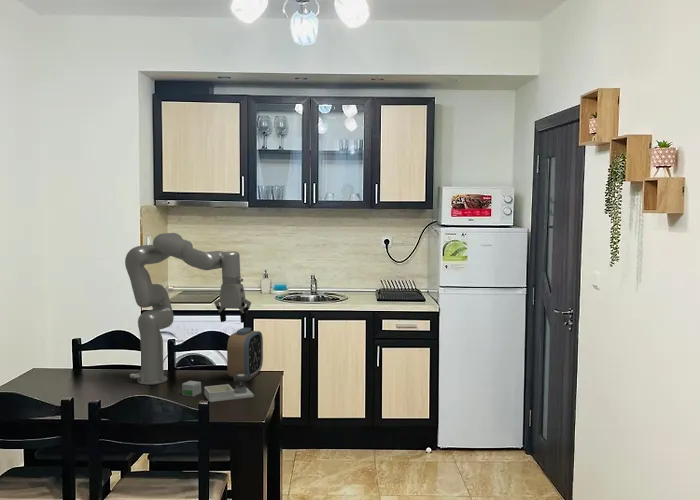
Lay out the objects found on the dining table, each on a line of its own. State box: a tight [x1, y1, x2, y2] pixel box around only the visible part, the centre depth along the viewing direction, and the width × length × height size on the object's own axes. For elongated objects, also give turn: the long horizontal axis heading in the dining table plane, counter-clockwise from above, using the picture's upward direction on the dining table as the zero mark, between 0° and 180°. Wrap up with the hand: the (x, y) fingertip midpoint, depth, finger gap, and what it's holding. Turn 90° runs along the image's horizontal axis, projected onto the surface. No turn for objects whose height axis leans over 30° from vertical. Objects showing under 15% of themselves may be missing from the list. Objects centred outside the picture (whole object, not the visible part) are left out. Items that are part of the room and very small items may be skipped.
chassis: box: [203, 383, 255, 403], centre depth 272 cm, size 18×10×4 cm, turn 113°
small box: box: [181, 380, 202, 397], centre depth 275 cm, size 6×6×5 cm
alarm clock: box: [226, 327, 264, 381], centre depth 302 cm, size 21×10×22 cm, turn 168°
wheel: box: [232, 374, 249, 387], centre depth 274 cm, size 6×6×5 cm
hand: (233, 321), depth 278 cm, fingers open, 9 cm apart
